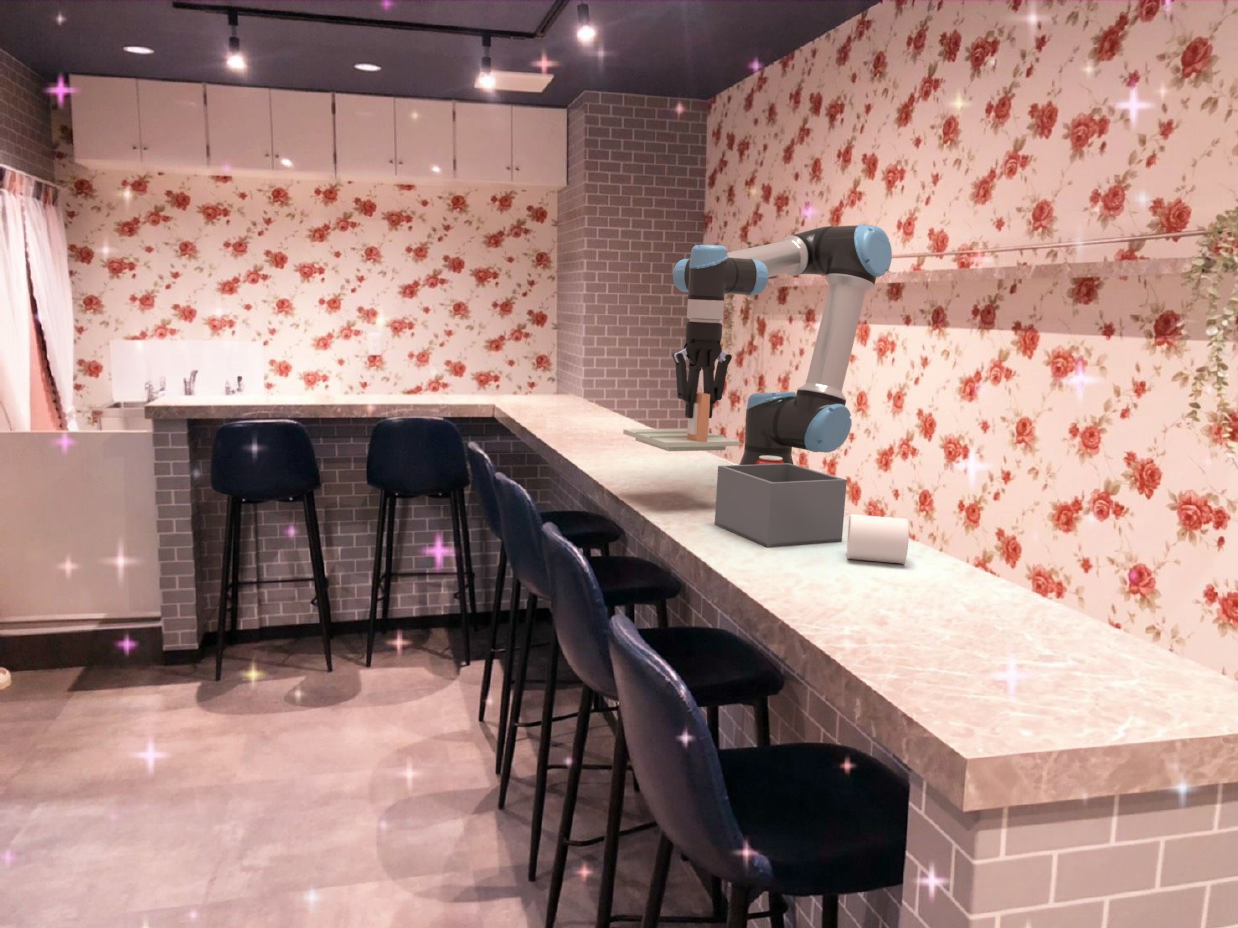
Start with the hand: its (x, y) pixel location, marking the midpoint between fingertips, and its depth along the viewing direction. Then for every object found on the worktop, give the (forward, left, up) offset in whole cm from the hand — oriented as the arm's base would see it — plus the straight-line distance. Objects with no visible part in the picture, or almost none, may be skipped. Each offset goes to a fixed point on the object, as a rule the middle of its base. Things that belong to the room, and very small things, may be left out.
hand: (697, 433), depth 209 cm
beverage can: (-15, +5, -17) cm, 23 cm away
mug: (-13, +43, -17) cm, 48 cm away
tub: (-6, +22, -17) cm, 29 cm away
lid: (0, -7, -4) cm, 8 cm away
